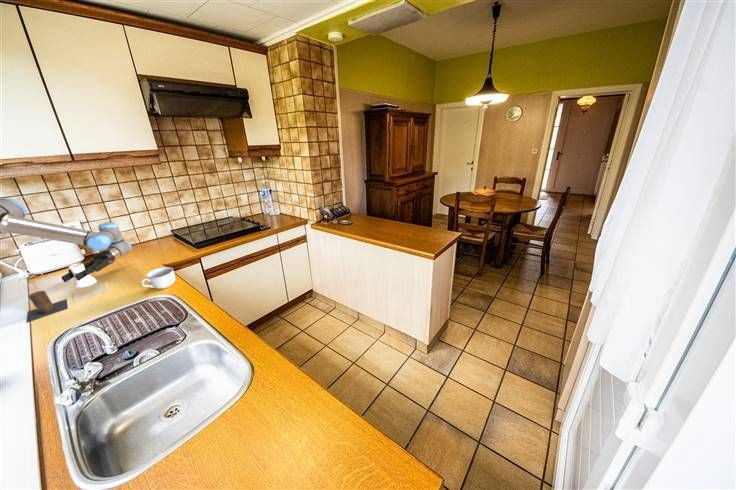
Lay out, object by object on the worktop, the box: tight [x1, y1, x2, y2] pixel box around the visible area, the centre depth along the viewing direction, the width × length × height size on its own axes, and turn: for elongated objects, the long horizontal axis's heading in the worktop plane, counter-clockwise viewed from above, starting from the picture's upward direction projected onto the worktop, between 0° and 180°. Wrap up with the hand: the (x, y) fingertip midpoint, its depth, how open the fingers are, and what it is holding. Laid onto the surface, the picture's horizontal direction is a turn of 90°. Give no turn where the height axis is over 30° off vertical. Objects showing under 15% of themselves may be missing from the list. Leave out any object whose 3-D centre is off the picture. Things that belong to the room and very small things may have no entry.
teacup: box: [140, 266, 177, 290], centre depth 129 cm, size 14×11×8 cm
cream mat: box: [71, 281, 110, 305], centre depth 129 cm, size 16×12×1 cm
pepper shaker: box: [27, 290, 55, 314], centre depth 114 cm, size 5×5×9 cm
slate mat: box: [25, 298, 69, 324], centre depth 116 cm, size 12×12×1 cm
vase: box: [68, 262, 98, 289], centre depth 125 cm, size 8×8×10 cm
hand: (70, 278), depth 120 cm, fingers closed on vase, 5 cm apart
